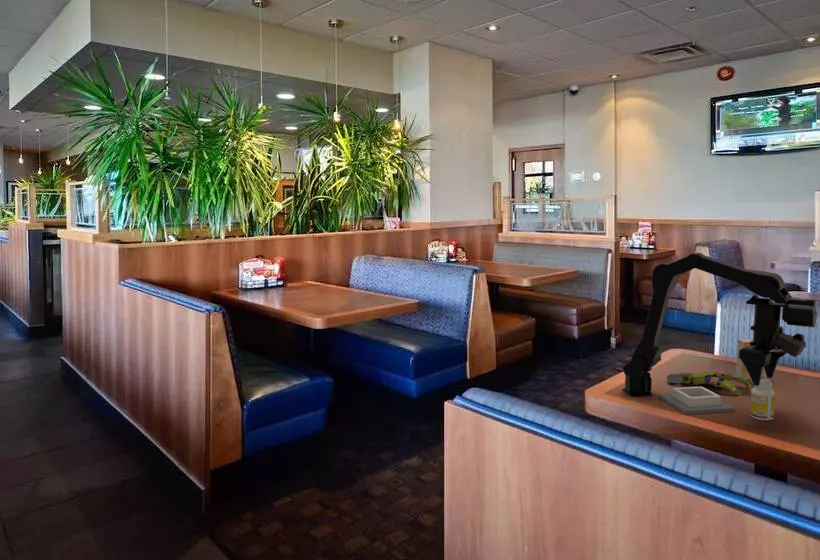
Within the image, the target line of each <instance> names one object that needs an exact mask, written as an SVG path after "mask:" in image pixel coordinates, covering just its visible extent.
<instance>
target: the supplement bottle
mask: <svg viewBox="0 0 820 560" xmlns="http://www.w3.org/2000/svg"><path fill="white" fill-rule="evenodd" d="M754 386H755V387H754V388H752V390H751V389H750V405H749V407H750V408H749V409H750V411H749V415H750V417H751V418H753V419H755V420H759V421H772V420H774V418H775V404H776V401H775V400H776V399H775V398H776V392H775V390H774V389H772V388H773V381H772V380H770V379H769V380H766V379H761V380H760V384H759V386H756V385H754Z"/></svg>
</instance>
